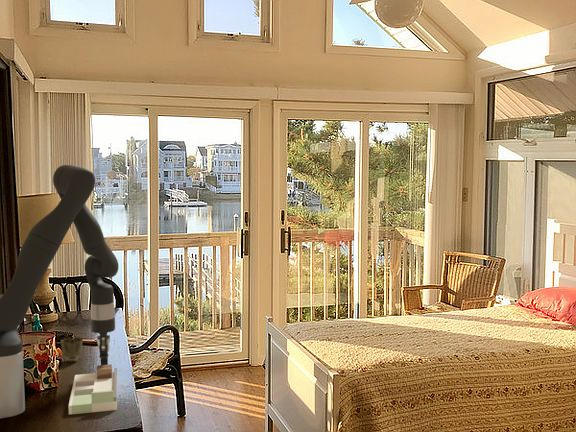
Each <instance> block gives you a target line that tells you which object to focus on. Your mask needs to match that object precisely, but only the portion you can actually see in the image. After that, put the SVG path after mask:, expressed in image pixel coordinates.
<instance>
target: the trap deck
mask: <svg viewBox="0 0 576 432" xmlns="http://www.w3.org/2000/svg"><path fill="white" fill-rule="evenodd" d="M71 388H72V389H71V392H70V397H69V402H68V415H78V414H79V415H80V414H88V413H98V412H100V413H101V412H107V411H108V412H109V411H117V410H118V368H117V367H114V370H113V371H112V378H104V379H97V372H96V373H95V372H94V373H92V372H91V373H83V374H75V375H74V379H73V384H72V387H71Z"/></svg>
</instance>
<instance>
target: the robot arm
mask: <svg viewBox="0 0 576 432" xmlns="http://www.w3.org/2000/svg"><path fill="white" fill-rule="evenodd" d="M52 183H53V186H54V188H55V190H56V193H57V194H58V197H59V198H60V200H59V202H58V204H57V205H56V206H55V207H54V208H53V209H52V210H51V211H50V212H49V213H47V214H46V215H45V216H44V217H42V218H41V219H39V221H37V223H35V224H34V225H33V227H32V228H31V229H30V231H28V234H27V236H26V238H25V240H24V241H23V243H22V245H21V247H20V249H19V253H18V257H17V261H16V267H15V271H14V274H13V277H12V279H11V280H10V281H11V282H10V283H9V285H8V287H7V288H6V290H5V292H4V293H3V294H2V293H1V294H0V419H5V418H10V417H15V416H17V415H20V414H22V413H24V412H25V411H26V401H25V381H24V379H25V375H24V373H25V372H24V354H23V353H24V351H23V349H24V348H23V341H22V339H21V337H20V335H19V331H18V327H19V326H20V325H21V324H22V322H23V321H24V319H25V317H26V315H27V312H28V310H29V308H30V305H31V303H32V301H33V298H34V296H35V293H36V291H37V289H38V287H39V285H40V284H41V281H42V280H43V278H44V276H45V274H46V272H47V270H48V269H49V266H51V263H52V261H53V260H54V258H55V257H56V254H57V252H58V250H59V249H60V247H61V245H62V242H63V240H64V238H65V236H66V235H67V233H68V231H69V230H70V228H71V226H72V225H73V224H74V227H75V229H76V231H77V234H78V236H79V240H80V242H81V246H82V249H83V251H84V253H85V254H86V255H88V257H87V258H86V260H85V263H84V272H85V276H86V279H87V282H88V283H87V284H88V285H89V289H90V301H91V302H90V325H91V326H90V327H91V332H92V333H94V334H99V335H97V338H96V340H97V341H96V342H97V347H98V349H97V351H98V352H99V358H100V365H109V361H108V360H109V351H110V342H111V336H110V335H108V334H109V333H112V332H114V331H115V330H116V314H115V313H116V310H115V309H116V307H115V303H114V297H115V296H114V295H115V294H114V287H113V286H112V285H111V284H109V283H106V282H104V281H103V279H102V278H105V279H106V278H113V277H115V276H116V275H117V274H118V271H119V261H118V259H117V257H116V255H115V254H114V252H113V251H112V250H111V248H110V247H109V245H108V244H107V241H106V240H105V239H106V238H105V236H104V233H103V230H102V228H101V225H100V223H99V222H98V220H97V219H96V217H95V216H94V215H93V213H92V212H91V211H90V209H89V207H88V206H87V205H86V203H87V201H88V200H89V198H90V197H91V195H92V193H93V191H94V189H95V186H96V177H95V174H94V172H93V171H92V170H90V169H88V168H84V167H81V166H75V165H72V164H62V165H61V166H59V167H57V168H56V170H55V171H54V172H53V176H52Z"/></svg>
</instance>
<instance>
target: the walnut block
mask: <svg viewBox="0 0 576 432" xmlns="http://www.w3.org/2000/svg"><path fill="white" fill-rule="evenodd" d="M112 372H113V365H112V364H108V365H101V364H99V365H96V373H97V379H104V378H112Z"/></svg>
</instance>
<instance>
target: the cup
mask: <svg viewBox="0 0 576 432" xmlns="http://www.w3.org/2000/svg"><path fill="white" fill-rule="evenodd" d="M83 340H84V339H83V338H82V337H80V336H73V338H71V337H69V336H68V337H63V339H62V338H61V340H60V345H61V351H62V354H63V356H64V357H65V358H66V361H67V362H68V363H69V362H70V363H73V362H77V361H78V359H79V356H80V355H81V354H82V350H83Z"/></svg>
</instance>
